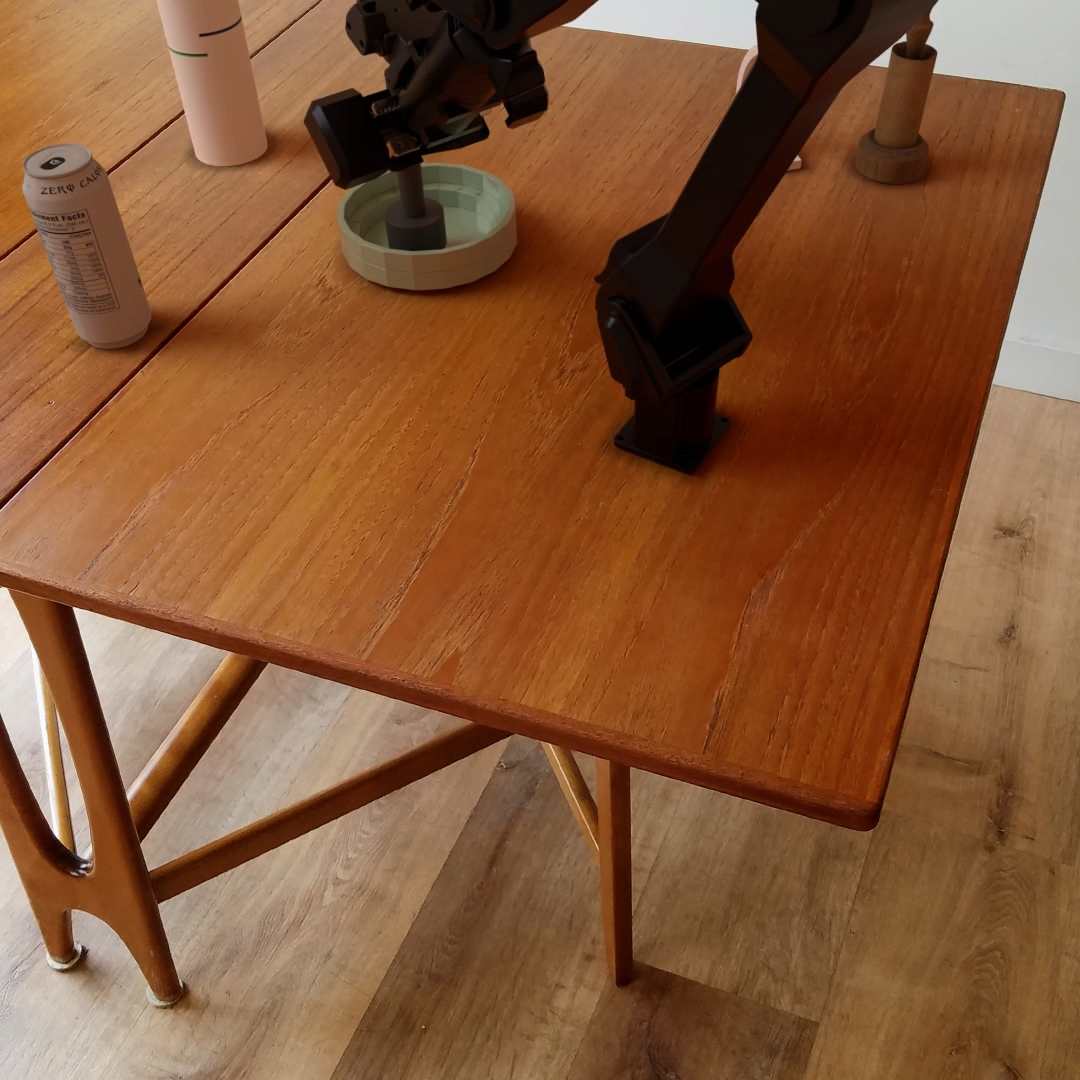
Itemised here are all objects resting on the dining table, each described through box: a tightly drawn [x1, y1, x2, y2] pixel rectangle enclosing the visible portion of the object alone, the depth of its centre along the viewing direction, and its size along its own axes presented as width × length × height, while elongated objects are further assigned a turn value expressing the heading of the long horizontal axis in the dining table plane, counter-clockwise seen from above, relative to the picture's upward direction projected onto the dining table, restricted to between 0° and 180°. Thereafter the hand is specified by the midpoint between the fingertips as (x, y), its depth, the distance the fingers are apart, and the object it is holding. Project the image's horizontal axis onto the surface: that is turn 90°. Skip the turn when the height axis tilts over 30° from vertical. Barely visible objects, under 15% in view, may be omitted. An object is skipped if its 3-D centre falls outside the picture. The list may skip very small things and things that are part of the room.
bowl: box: [336, 162, 518, 291], centre depth 100 cm, size 15×15×4 cm
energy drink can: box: [21, 142, 152, 350], centre depth 89 cm, size 6×6×15 cm
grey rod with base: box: [383, 67, 447, 251], centre depth 94 cm, size 5×5×15 cm
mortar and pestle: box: [854, 4, 938, 185], centre depth 103 cm, size 7×6×18 cm
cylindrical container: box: [156, 0, 269, 167], centre depth 106 cm, size 7×7×25 cm
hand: (399, 155), depth 94 cm, fingers closed on grey rod with base
